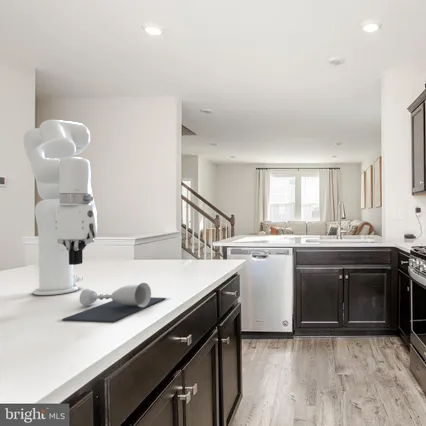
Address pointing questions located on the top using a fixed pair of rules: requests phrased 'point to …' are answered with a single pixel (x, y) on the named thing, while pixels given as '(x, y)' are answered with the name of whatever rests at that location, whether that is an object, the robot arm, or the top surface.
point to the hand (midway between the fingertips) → (75, 264)
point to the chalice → (120, 295)
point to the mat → (109, 312)
